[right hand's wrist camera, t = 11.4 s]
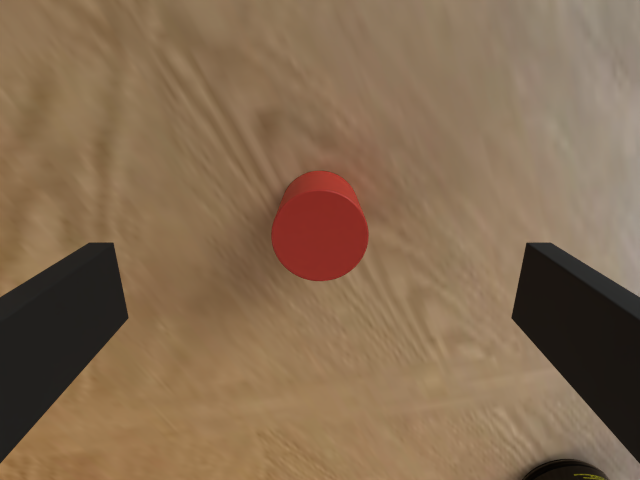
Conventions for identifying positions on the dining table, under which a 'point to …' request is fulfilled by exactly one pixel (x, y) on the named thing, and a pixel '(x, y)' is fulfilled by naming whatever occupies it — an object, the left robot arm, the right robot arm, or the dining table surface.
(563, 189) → the dining table surface
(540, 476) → the supplement container
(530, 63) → the dining table surface
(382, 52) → the dining table surface
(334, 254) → the canister
